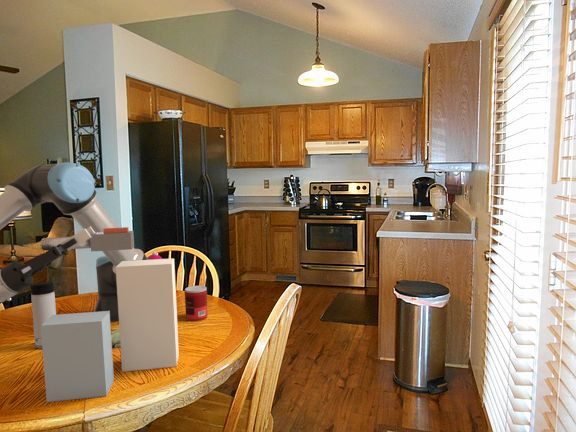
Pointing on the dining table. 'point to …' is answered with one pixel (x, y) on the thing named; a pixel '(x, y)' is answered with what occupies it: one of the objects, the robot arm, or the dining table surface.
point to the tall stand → (147, 314)
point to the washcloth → (115, 338)
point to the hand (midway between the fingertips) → (90, 231)
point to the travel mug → (42, 307)
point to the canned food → (196, 303)
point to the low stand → (77, 355)
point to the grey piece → (99, 240)
